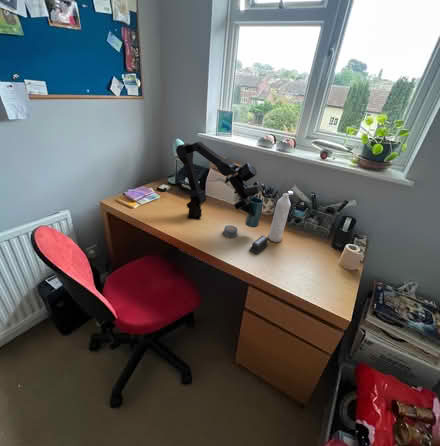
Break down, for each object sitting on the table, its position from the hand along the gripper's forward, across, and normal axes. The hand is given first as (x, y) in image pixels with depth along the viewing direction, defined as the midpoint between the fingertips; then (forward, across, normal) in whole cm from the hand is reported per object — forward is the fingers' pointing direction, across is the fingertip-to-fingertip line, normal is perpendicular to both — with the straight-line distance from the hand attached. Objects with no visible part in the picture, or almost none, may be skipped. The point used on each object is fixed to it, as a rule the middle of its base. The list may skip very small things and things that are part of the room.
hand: (256, 213), depth 119 cm
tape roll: (+2, -5, +17) cm, 18 cm away
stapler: (+14, -8, +5) cm, 17 cm away
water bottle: (+17, +6, +2) cm, 18 cm away
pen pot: (+4, 0, +6) cm, 7 cm away
